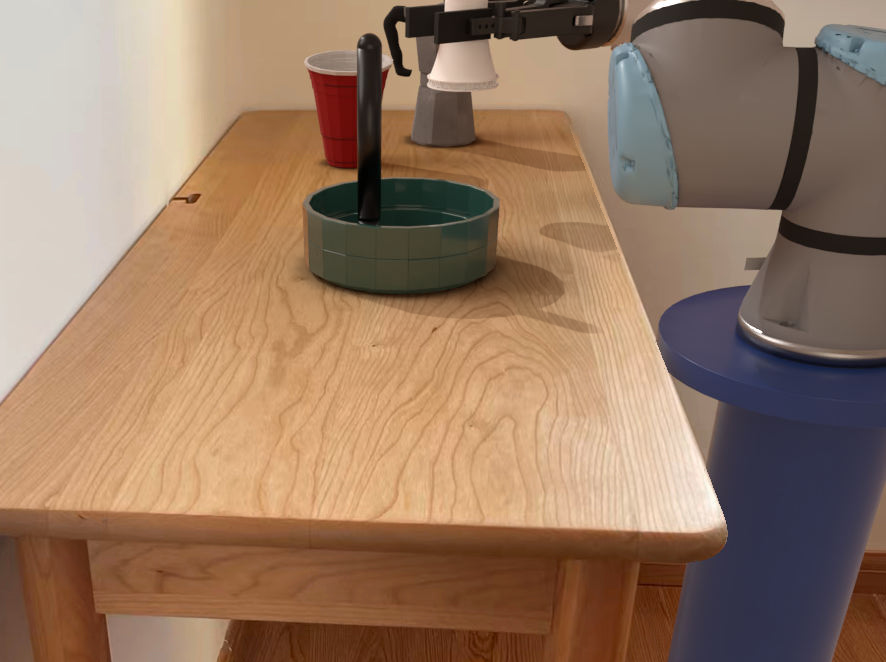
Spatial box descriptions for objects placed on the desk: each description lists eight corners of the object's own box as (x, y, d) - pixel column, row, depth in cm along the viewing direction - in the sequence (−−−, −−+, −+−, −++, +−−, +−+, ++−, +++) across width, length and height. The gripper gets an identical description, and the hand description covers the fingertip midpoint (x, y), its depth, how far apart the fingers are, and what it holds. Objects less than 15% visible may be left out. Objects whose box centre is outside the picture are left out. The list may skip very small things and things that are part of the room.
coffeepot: (499, 136, 155) (509, -17, 144) (478, 150, 148) (486, -9, 137) (395, 128, 160) (397, -20, 149) (370, 141, 153) (370, -13, 142)
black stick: (394, 252, 110) (397, 29, 99) (389, 266, 107) (392, 36, 95) (349, 251, 111) (347, 29, 99) (343, 265, 107) (340, 36, 96)
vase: (420, 81, 122) (423, -27, 116) (487, 78, 123) (493, -29, 117) (435, 94, 116) (439, -20, 110) (506, 91, 117) (514, -22, 111)
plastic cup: (309, 174, 138) (306, 65, 131) (304, 154, 147) (301, 51, 140) (397, 172, 139) (398, 62, 132) (387, 152, 148) (388, 48, 141)
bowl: (496, 241, 115) (501, 178, 111) (493, 300, 100) (498, 230, 97) (320, 237, 117) (318, 175, 113) (291, 294, 102) (289, 225, 99)
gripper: (650, 58, 120) (470, 79, 110) (545, 38, 132) (375, 56, 122) (661, -25, 115) (474, -10, 106) (552, -38, 127) (376, -25, 118)
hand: (422, 25), depth 114 cm, fingers closed on vase, 5 cm apart
